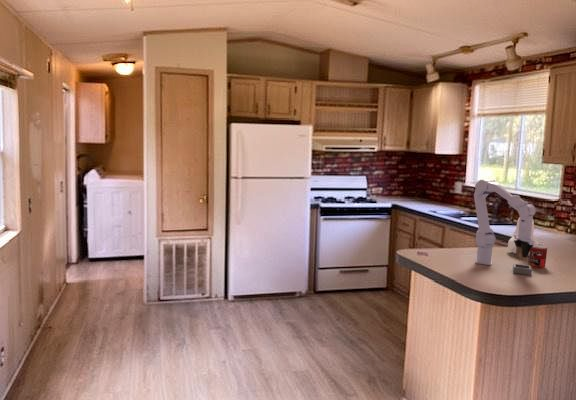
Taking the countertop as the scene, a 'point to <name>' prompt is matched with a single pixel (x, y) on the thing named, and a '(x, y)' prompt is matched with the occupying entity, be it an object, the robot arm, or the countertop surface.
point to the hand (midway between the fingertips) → (522, 256)
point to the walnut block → (520, 254)
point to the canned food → (538, 256)
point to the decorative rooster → (511, 242)
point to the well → (522, 269)
